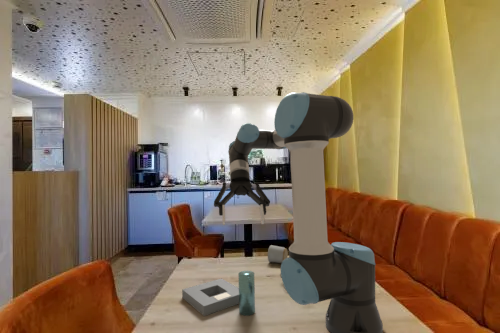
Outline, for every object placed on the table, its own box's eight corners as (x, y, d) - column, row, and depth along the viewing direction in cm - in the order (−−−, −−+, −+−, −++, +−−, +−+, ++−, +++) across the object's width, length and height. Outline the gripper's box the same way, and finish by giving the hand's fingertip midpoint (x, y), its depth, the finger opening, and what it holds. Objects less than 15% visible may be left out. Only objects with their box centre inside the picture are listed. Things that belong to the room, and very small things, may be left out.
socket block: (246, 301, 100) (246, 291, 100) (203, 316, 91) (203, 305, 91) (221, 286, 113) (221, 278, 113) (182, 297, 104) (182, 289, 104)
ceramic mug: (284, 265, 135) (284, 248, 135) (267, 263, 138) (267, 247, 138) (290, 259, 145) (289, 243, 145) (274, 257, 148) (273, 242, 148)
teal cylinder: (258, 312, 93) (257, 273, 93) (245, 317, 90) (244, 277, 90) (248, 306, 97) (248, 269, 97) (236, 310, 94) (235, 273, 94)
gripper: (269, 180, 120) (277, 227, 107) (207, 180, 117) (207, 228, 103) (272, 168, 114) (281, 216, 101) (207, 167, 111) (207, 217, 97)
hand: (243, 222), depth 102 cm, fingers open, 13 cm apart
